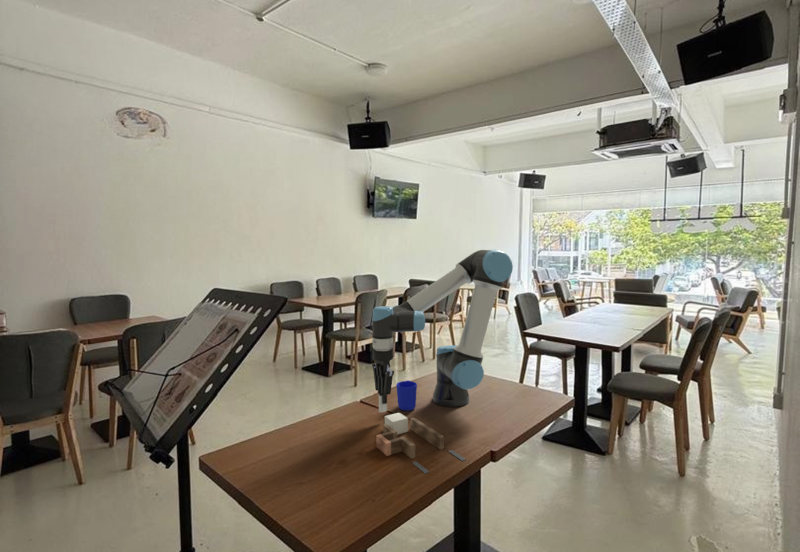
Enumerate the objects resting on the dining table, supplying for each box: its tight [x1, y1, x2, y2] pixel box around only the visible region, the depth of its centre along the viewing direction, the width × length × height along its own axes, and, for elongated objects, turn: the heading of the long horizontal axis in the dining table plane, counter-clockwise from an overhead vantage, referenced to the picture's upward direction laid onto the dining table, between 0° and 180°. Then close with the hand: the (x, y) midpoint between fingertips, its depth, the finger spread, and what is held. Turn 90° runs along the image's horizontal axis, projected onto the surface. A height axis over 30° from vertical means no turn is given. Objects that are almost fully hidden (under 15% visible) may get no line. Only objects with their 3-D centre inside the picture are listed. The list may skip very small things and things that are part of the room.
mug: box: [395, 379, 418, 412], centre depth 174 cm, size 8×12×10 cm
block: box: [384, 412, 409, 436], centre depth 152 cm, size 6×6×5 cm
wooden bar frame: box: [375, 417, 445, 459], centre depth 142 cm, size 18×18×4 cm
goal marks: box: [411, 449, 467, 474], centre depth 130 cm, size 7×15×1 cm, turn 120°
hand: (382, 411), depth 160 cm, fingers closed
